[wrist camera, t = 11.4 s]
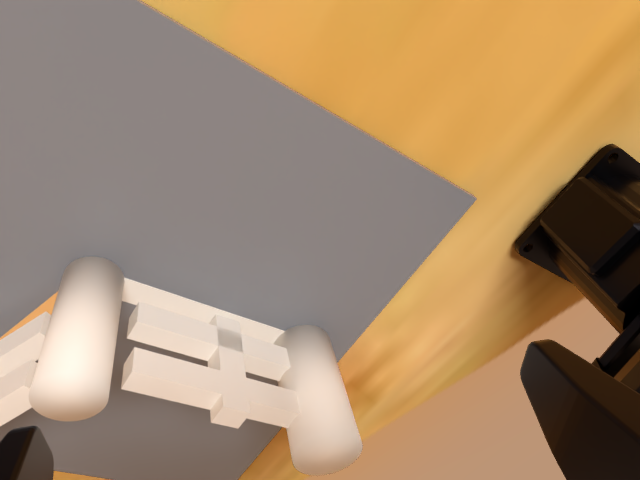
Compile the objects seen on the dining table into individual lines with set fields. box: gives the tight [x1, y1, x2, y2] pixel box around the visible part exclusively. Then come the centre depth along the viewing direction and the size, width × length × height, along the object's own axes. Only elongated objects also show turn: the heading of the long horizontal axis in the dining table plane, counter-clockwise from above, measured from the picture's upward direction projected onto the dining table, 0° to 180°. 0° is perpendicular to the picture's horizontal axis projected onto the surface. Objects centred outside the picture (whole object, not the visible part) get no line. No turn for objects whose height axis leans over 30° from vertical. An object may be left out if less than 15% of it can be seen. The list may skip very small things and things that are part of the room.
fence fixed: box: [29, 256, 363, 475], centre depth 23 cm, size 13×3×6 cm, turn 56°
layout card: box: [0, 0, 477, 480], centre depth 23 cm, size 26×24×1 cm
